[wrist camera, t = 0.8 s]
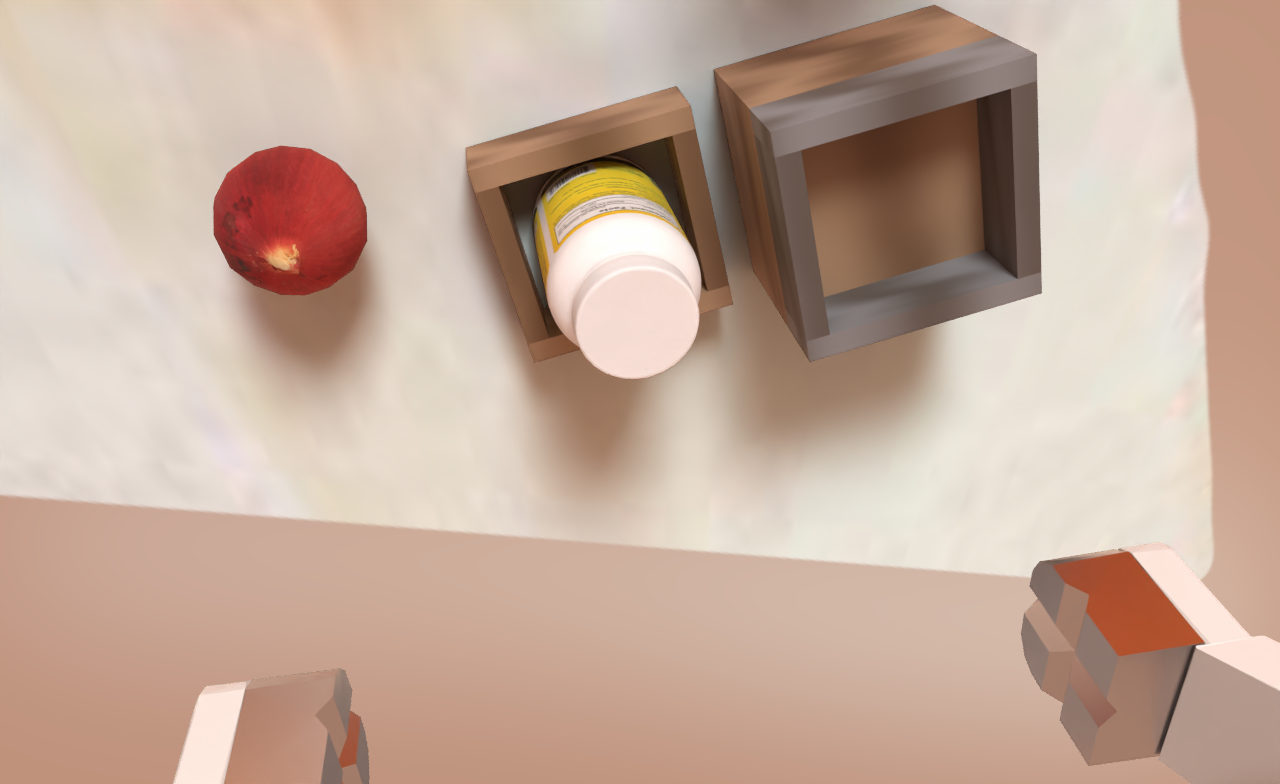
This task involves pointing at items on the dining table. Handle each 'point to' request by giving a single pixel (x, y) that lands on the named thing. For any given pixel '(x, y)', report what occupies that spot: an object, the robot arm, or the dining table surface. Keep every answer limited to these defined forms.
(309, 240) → the onion
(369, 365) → the dining table surface
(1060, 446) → the dining table surface
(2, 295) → the dining table surface
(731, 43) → the dining table surface
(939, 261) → the stepped holder
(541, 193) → the pill bottle
